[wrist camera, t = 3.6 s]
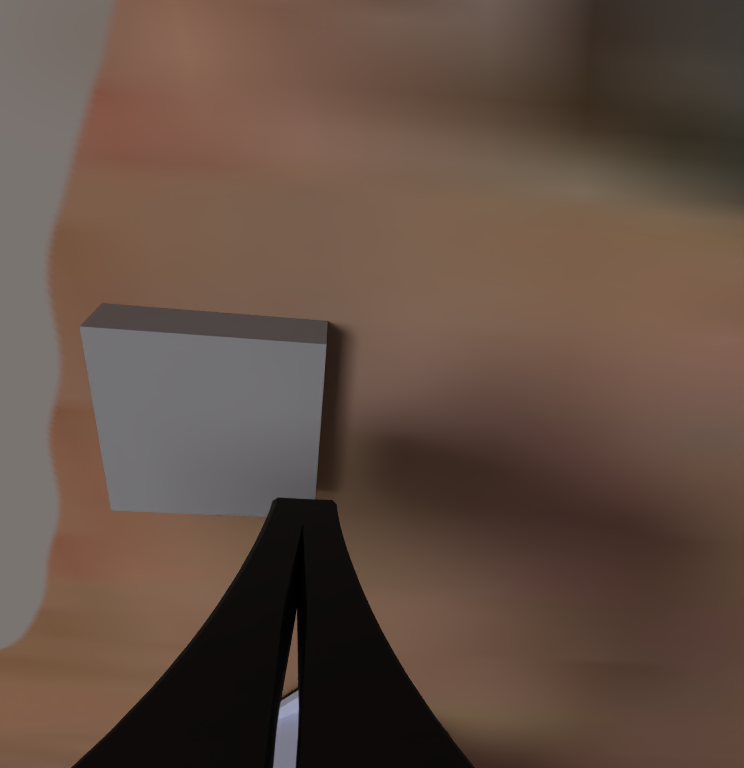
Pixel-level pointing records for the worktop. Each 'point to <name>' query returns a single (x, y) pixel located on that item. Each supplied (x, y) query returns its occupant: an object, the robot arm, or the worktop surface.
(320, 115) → the worktop surface
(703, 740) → the worktop surface
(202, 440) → the tile
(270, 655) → the robot arm
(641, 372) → the worktop surface
